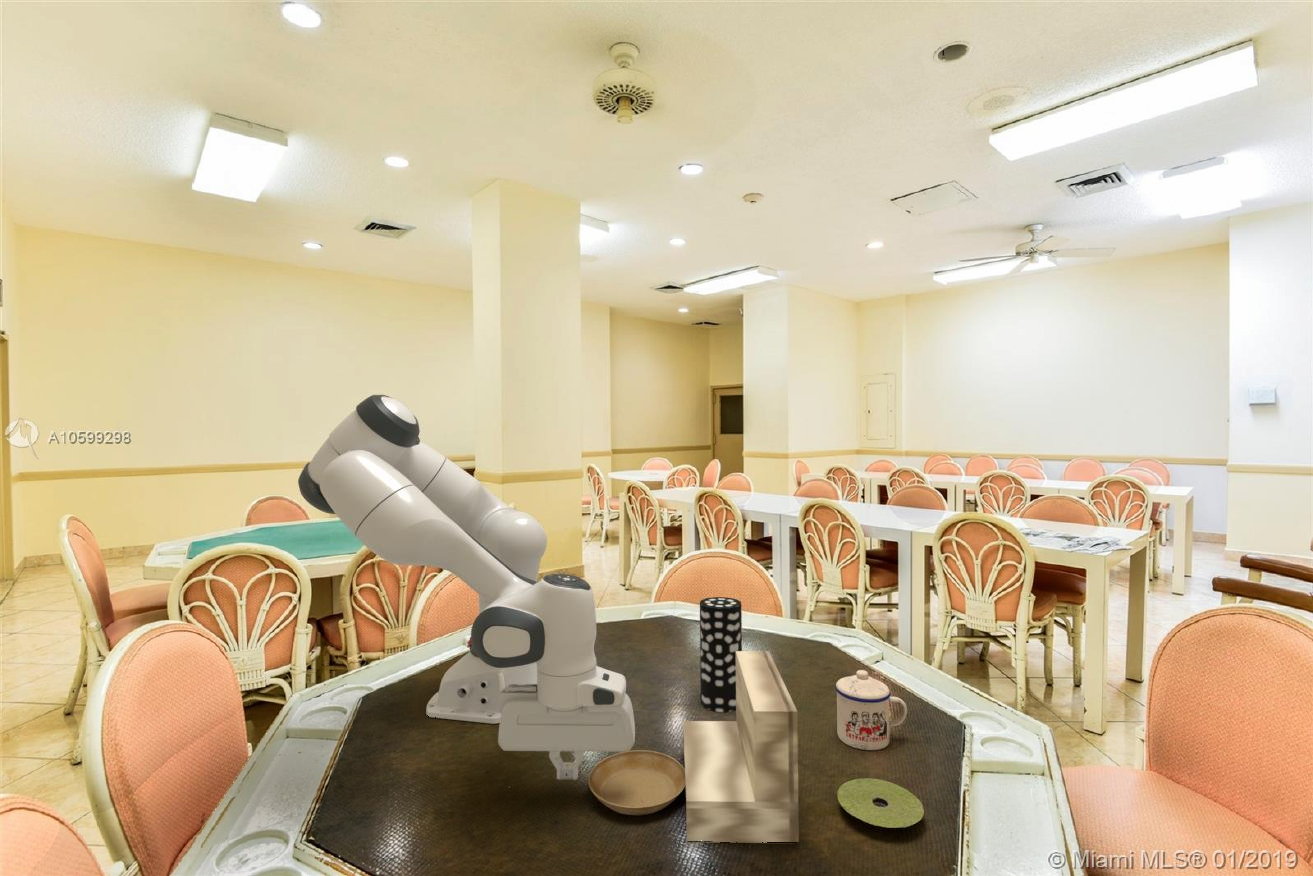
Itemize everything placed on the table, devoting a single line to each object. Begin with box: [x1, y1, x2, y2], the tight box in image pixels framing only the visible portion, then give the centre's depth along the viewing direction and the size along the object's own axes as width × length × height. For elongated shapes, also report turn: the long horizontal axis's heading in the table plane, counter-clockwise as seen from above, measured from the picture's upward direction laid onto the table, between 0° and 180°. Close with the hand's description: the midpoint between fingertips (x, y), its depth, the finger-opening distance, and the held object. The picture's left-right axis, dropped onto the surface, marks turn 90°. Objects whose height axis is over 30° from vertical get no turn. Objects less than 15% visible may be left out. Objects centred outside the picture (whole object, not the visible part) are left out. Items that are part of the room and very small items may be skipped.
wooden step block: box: [682, 650, 800, 844], centre depth 87 cm, size 14×22×17 cm, turn 179°
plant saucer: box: [587, 749, 686, 816], centre depth 87 cm, size 15×15×3 cm
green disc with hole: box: [836, 777, 925, 829], centre depth 81 cm, size 11×11×2 cm
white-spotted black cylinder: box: [699, 596, 743, 713], centre depth 117 cm, size 8×8×20 cm
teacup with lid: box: [835, 669, 908, 751], centre depth 102 cm, size 12×9×12 cm
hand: (567, 777), depth 87 cm, fingers closed
